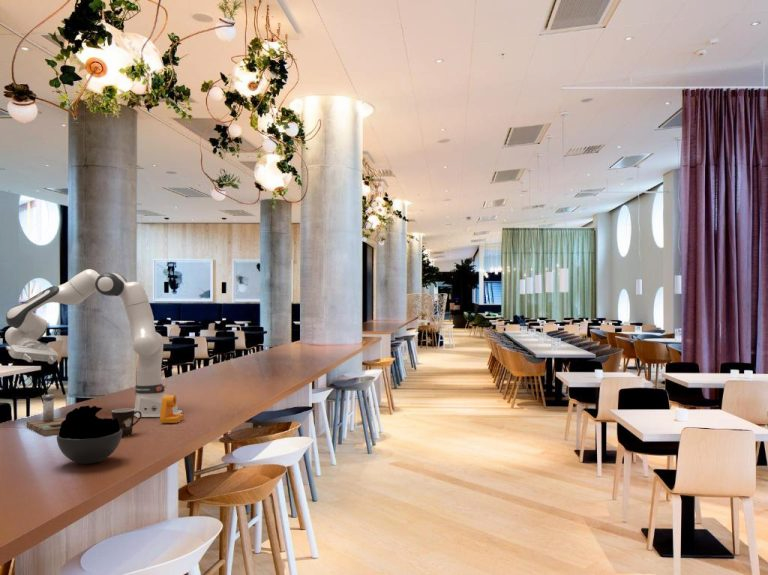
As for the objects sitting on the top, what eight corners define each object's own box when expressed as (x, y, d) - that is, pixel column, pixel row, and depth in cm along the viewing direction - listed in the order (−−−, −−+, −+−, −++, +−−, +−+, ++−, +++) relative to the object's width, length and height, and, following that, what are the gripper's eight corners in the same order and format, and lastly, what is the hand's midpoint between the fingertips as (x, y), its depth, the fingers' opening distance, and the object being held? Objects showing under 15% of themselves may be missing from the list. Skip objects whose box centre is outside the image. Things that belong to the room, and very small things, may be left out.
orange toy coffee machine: (176, 424, 273) (176, 397, 273) (159, 424, 273) (159, 397, 273) (184, 419, 283) (184, 393, 284) (168, 419, 283) (168, 393, 284)
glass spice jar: (57, 420, 270) (57, 394, 270) (49, 422, 265) (49, 396, 265) (47, 420, 271) (47, 394, 271) (39, 422, 266) (39, 396, 266)
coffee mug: (112, 438, 246) (112, 413, 246) (110, 434, 253) (110, 409, 254) (143, 435, 251) (143, 410, 251) (141, 431, 259) (141, 407, 259)
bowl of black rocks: (92, 453, 223) (92, 400, 223) (135, 458, 215) (135, 403, 215) (42, 467, 204) (42, 409, 205) (87, 473, 197) (87, 414, 197)
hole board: (26, 427, 267) (26, 421, 267) (61, 422, 277) (61, 416, 277) (44, 436, 250) (44, 429, 250) (81, 431, 260) (81, 424, 260)
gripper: (7, 339, 274) (21, 352, 266) (51, 344, 291) (65, 357, 283) (1, 352, 274) (15, 366, 266) (46, 356, 291) (60, 369, 284)
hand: (41, 361), depth 275 cm, fingers open, 8 cm apart
